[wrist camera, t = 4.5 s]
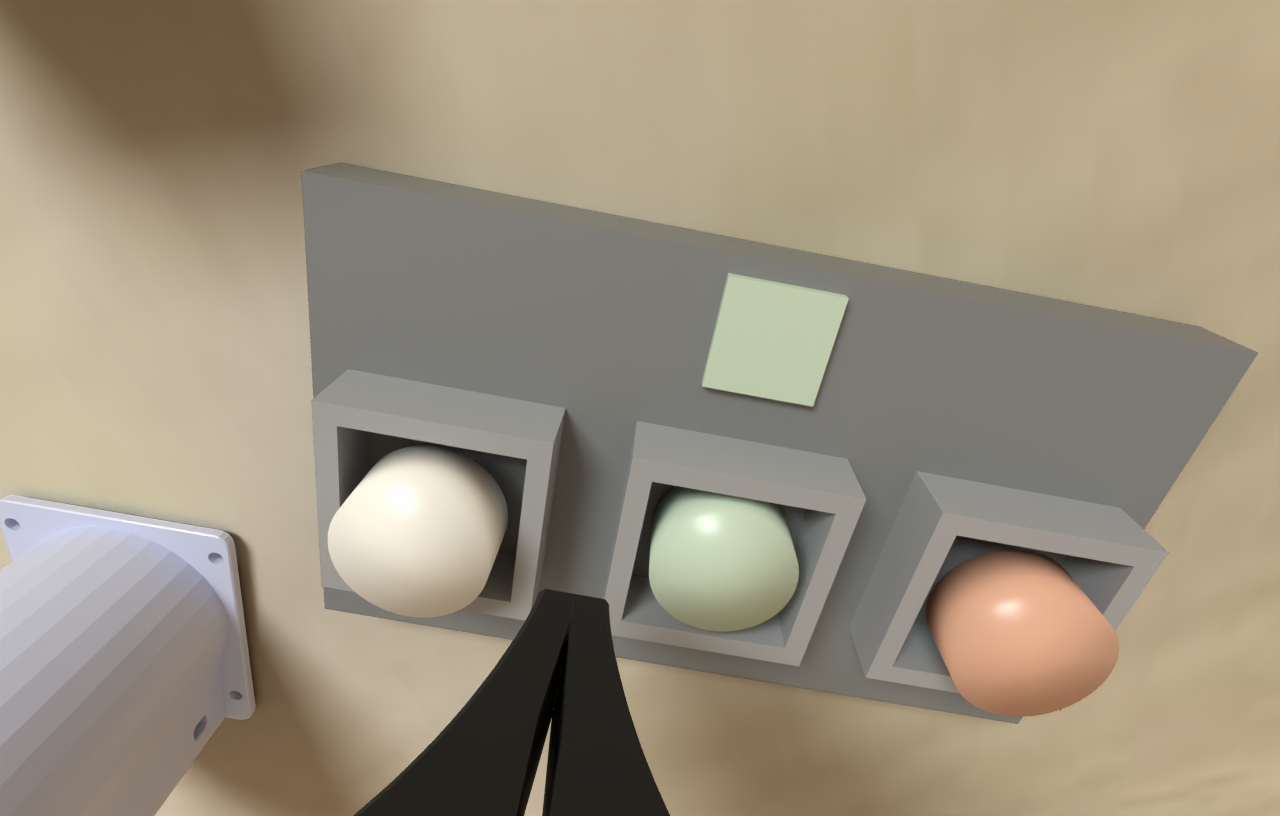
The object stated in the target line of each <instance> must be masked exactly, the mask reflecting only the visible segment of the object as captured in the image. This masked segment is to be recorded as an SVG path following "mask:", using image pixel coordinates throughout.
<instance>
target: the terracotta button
mask: <svg viewBox="0 0 1280 816" xmlns="http://www.w3.org/2000/svg"><path fill="white" fill-rule="evenodd" d="M925 617H926V623H927V626H928V629H929V631H930V633H931V635H932V637H933V640H934V642H935V644H936V646H937V648H938V650H939V652H940V654H941V656H942V659H943V661H944V663H945V665H946V667H947V669H948V671H949V673H950V675H951V677H952V680H953V682H954V684H955V686H956V688H957V689H958V691H959V693H960V694H961V695H962V696H963V697H964V698H965V699H966V700H967V701H968V702H969V703H971V704H972V705H974V706H975V707H977V708H980V709H982V710H984V711H987V712H990V713H993V714H998V715H1004V716H1018V717H1022V716H1034V715H1041V714H1046V713H1050V712H1054V711H1057V710H1060V709H1063V708H1065V707H1068V706H1070V705H1072V704H1074V703H1076V702H1078V701H1080V700H1082V699H1083V698H1085V697H1086V696H1088V695H1089V694H1091V693H1092V692H1093V691H1095V690H1096V689H1097V688H1098V687H1099V686H1100V685H1101V684H1102V683H1103V682H1104V681H1105V680H1106V679H1107V677H1108V676H1109V675H1110V673H1111V671H1112V670H1113V668H1114V666H1115V663H1116V661H1117V657H1118V651H1119V644H1118V638H1117V636H1116V633H1115V631H1114V629H1113V628H1112V626H1111V625H1110V623H1109V622H1108V621H1107V620H1106V619H1105V617H1104V616H1103V615H1102V614H1101V612H1100V611H1099V610H1098V609H1097V608H1096V606H1095V605H1094V604H1093V603H1092V601H1091V600H1090V599H1089V598H1088V597H1087V595H1086V594H1085V593H1084V592H1083V591H1082V589H1081V588H1080V587H1079V586H1078V584H1077V583H1076V582H1075V581H1074V580H1073V578H1072V577H1071V576H1070V575H1069V573H1068V572H1067V571H1066V570H1065V569H1064V568H1063V567H1062V566H1061V565H1060V564H1059V563H1058V562H1056V561H1055V560H1053V559H1051V558H1049V557H1048V556H1045V555H1042V554H1040V553H1036V552H1032V551H1026V550H1001V551H995V552H990V553H986V554H983V555H979V556H977V557H974V558H972V559H969V560H967V561H965V562H963V563H961V564H960V565H958V566H957V567H955V568H954V569H952V570H951V571H950V572H948V573H947V574H946V575H945V576H944V577H943V578H942V579H941V580H940V581H939V582H938V583H937V585H936V586H935V587H934V589H933V591H932V592H931V594H930V596H929V599H928V601H927V605H926V612H925Z"/></svg>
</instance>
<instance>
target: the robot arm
mask: <svg viewBox="0 0 1280 816" xmlns="http://www.w3.org/2000/svg"><path fill="white" fill-rule="evenodd" d="M0 526H1V529H2V532H3V535H4V538H5V541H6V544H7V548H8V551H9V554H10V557H11V560H12V562H11V563H9V564H8V565H7V566H5V567H4V568H2V569H1V570H0V816H155V814H156V813H157V812H158V810H159V809H160V807H161V806H162V805H163V803H164V802H165V800H166V799H167V798H168V796H169V795H170V793H171V792H172V791H173V789H174V788H175V786H176V785H177V784H178V782H179V781H180V780H181V778H182V777H183V775H184V774H185V773H186V771H187V770H188V768H189V767H190V766H191V764H192V763H193V761H194V760H195V759H196V757H197V756H198V754H199V753H200V752H201V750H202V749H203V747H204V746H205V745H206V743H207V742H208V741H209V739H210V738H211V736H212V735H213V734H214V732H215V731H216V729H217V728H218V727H219V725H220V724H221V722H222V721H223V720H224V718H231V719H237V720H246V719H249V718H250V717H251V715H252V714H253V712H254V711H255V708H256V706H255V698H254V690H253V682H252V675H251V667H250V659H249V651H248V643H247V635H246V628H245V620H244V612H243V604H242V596H241V589H240V581H239V573H238V565H237V557H236V550H235V543H234V540H233V538H232V537H231V536H230V535H229V534H228V533H226V532H225V531H221V530H217V529H212V528H206V527H200V526H194V525H188V524H182V523H176V522H170V521H164V520H159V519H153V518H147V517H141V516H135V515H129V514H123V513H117V512H111V511H106V510H100V509H94V508H88V507H82V506H76V505H70V504H64V503H58V502H53V501H47V500H41V499H35V498H29V497H23V496H17V495H8V496H6V497H4V498H2V499H1V500H0ZM218 554H219V555H221V556H219V555H218ZM573 602H574V603H573ZM570 618H571V619H570ZM567 634H568V635H567ZM566 639H567V640H566ZM563 655H564V656H563ZM560 671H561V672H560ZM556 692H557V693H556ZM553 708H554V709H553ZM551 718H552V722H551ZM550 722H551V732H550V742H549V753H548V763H547V773H546V784H545V794H544V804H543V815H542V816H670V814H669V812H668V810H667V808H666V806H665V804H664V801H663V799H662V797H661V795H660V792H659V790H658V788H657V785H656V783H655V781H654V778H653V776H652V773H651V771H650V768H649V766H648V763H647V761H646V758H645V756H644V753H643V750H642V748H641V745H640V742H639V739H638V736H637V733H636V730H635V727H634V724H633V721H632V718H631V715H630V712H629V708H628V705H627V701H626V698H625V694H624V690H623V686H622V682H621V679H620V675H619V671H618V666H617V662H616V657H615V652H614V646H613V641H612V634H611V626H610V615H609V604H608V602H607V601H606V600H605V599H601V598H596V597H590V596H584V595H578V594H573V593H567V592H561V591H556V590H550V589H544V590H542V591H540V592H539V593H538V596H537V598H536V601H535V603H534V605H533V607H532V609H531V611H530V613H529V615H528V617H527V619H526V620H525V622H524V624H523V625H522V627H521V629H520V630H519V632H518V634H517V635H516V637H515V638H514V640H513V641H512V643H511V644H510V646H509V647H508V649H507V650H506V652H505V653H504V655H503V656H502V658H501V659H500V660H499V662H498V663H497V665H496V666H495V668H494V669H493V670H492V672H491V673H490V674H489V676H488V677H487V678H486V679H485V681H484V682H483V683H482V684H481V686H480V687H479V688H478V690H477V691H476V692H475V693H474V695H473V696H472V697H471V698H470V700H469V701H468V702H467V703H466V705H465V706H464V707H463V708H462V709H461V711H460V712H459V713H458V714H457V715H456V716H455V717H454V719H453V720H452V721H451V722H450V723H449V724H448V725H447V726H446V728H445V729H444V730H443V731H442V732H441V733H440V734H439V735H438V736H437V737H436V738H435V740H434V741H433V742H432V743H431V744H430V745H429V746H428V747H427V748H426V749H425V750H424V751H423V752H422V753H421V754H420V755H419V756H418V757H417V758H416V759H415V760H414V761H413V762H412V763H411V764H410V765H409V766H408V767H407V768H406V769H405V770H404V771H403V772H402V773H401V774H400V775H399V776H398V777H397V778H395V779H394V780H393V781H392V782H391V783H390V784H389V785H388V786H387V787H386V788H385V789H383V790H382V791H381V792H380V793H379V794H378V795H377V796H375V797H374V798H373V799H372V800H371V801H370V802H369V803H367V804H366V805H365V806H364V807H363V808H362V809H360V810H359V811H358V812H357V813H356V814H355V815H354V816H524V813H525V810H526V806H527V803H528V799H529V796H530V792H531V789H532V785H533V782H534V778H535V775H536V771H537V767H538V764H539V760H540V757H541V753H542V750H543V746H544V743H545V739H546V736H547V732H548V729H549V725H550Z"/></svg>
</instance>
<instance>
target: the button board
mask: <svg viewBox="0 0 1280 816" xmlns="http://www.w3.org/2000/svg"><path fill="white" fill-rule="evenodd" d="M302 190H303V208H304V227H305V246H306V265H307V283H308V302H309V321H310V340H311V358H312V377H313V396H314V399H313V400H312V419H313V437H314V455H315V473H316V491H317V510H318V528H319V546H320V564H321V582H322V587H324V602H325V609H330V610H336V611H342V612H348V613H354V614H360V615H366V616H372V617H378V618H384V619H390V620H396V621H402V622H408V623H414V624H420V625H426V626H432V627H438V628H444V629H450V630H456V631H462V632H468V633H474V634H480V635H486V636H492V637H498V638H504V639H510V640H514V638H515V637H516V635H517V634H518V632H519V630H520V629H521V627H522V625H523V624H524V622H525V620H526V619H527V617H528V615H529V613H530V611H531V609H532V607H533V605H534V603H535V601H536V598H537V596H538V593H539V592H540V591H542V590H544V589H550V590H556V591H561V592H567V593H573V594H578V595H584V596H590V597H596V598H601V599H605V600H606V601H607V602H608V604H609V615H610V626H611V634H612V641H613V646H614V652H615V657H619V658H625V659H631V660H637V661H643V662H649V663H655V664H661V665H667V666H673V667H679V668H685V669H691V670H697V671H703V672H709V673H715V674H721V675H727V676H733V677H739V678H745V679H751V680H757V681H763V682H769V683H775V684H781V685H787V686H793V687H799V688H805V689H811V690H817V691H823V692H829V693H835V694H841V695H847V696H853V697H859V698H865V699H871V700H877V701H883V702H889V703H895V704H901V705H907V706H913V707H919V708H925V709H931V710H937V711H943V712H949V713H955V714H961V715H967V716H973V717H979V718H985V719H991V720H997V721H1003V722H1009V723H1015V724H1018V723H1019V721H1020V720H1021V718H1022V717H1023V716H1022V717H1018V716H1004V715H998V714H993V713H990V712H987V711H984V710H982V709H980V708H977V707H975V706H974V705H972V704H971V703H969V702H968V701H967V700H966V699H965V698H964V697H963V696H962V695H961V694H960V693H959V691H958V689H957V688H956V686H955V684H954V682H953V680H952V677H951V675H950V673H949V671H948V669H947V667H946V665H945V663H944V661H943V659H942V656H941V654H940V652H939V650H938V648H937V646H936V644H935V642H934V640H933V637H932V635H931V633H930V631H929V629H928V626H927V623H926V617H925V612H926V605H927V601H928V599H929V596H930V594H931V592H932V591H933V589H934V587H935V586H936V585H937V583H938V582H939V581H940V580H941V579H942V578H943V577H944V576H945V575H946V574H947V573H948V572H950V571H951V570H952V569H954V568H955V567H957V566H958V565H960V564H961V563H963V562H965V561H967V560H969V559H972V558H974V557H977V556H979V555H983V554H986V553H990V552H995V551H1001V550H1026V551H1032V552H1036V553H1040V554H1042V555H1045V556H1048V557H1049V558H1051V559H1053V560H1055V561H1056V562H1058V563H1059V564H1060V565H1061V566H1062V567H1063V568H1064V569H1065V570H1066V571H1067V572H1068V573H1069V575H1070V576H1071V577H1072V578H1073V580H1074V581H1075V582H1076V583H1077V584H1078V586H1079V587H1080V588H1081V589H1082V591H1083V592H1084V593H1085V594H1086V595H1087V597H1088V598H1089V599H1090V600H1091V601H1092V603H1093V604H1094V605H1095V606H1096V608H1097V609H1098V610H1099V611H1100V612H1101V614H1102V615H1103V616H1104V617H1105V619H1106V620H1107V621H1108V622H1109V623H1110V625H1111V626H1112V628H1113V629H1114V631H1116V629H1117V628H1118V626H1119V625H1120V623H1121V622H1122V620H1123V619H1124V617H1125V616H1126V615H1127V613H1128V612H1129V610H1130V609H1131V607H1132V606H1133V604H1134V603H1135V601H1136V600H1137V598H1138V597H1139V596H1140V594H1141V593H1142V591H1143V590H1144V588H1145V587H1146V585H1147V584H1148V582H1149V581H1150V579H1151V578H1152V576H1153V575H1154V574H1155V572H1156V571H1157V569H1158V568H1159V566H1160V565H1161V563H1162V562H1163V560H1164V559H1165V557H1166V556H1167V555H1168V553H1169V552H1168V551H1166V550H1165V549H1164V548H1163V547H1162V546H1161V545H1160V544H1159V543H1158V542H1157V541H1156V540H1155V539H1154V538H1152V537H1151V536H1150V535H1149V534H1148V533H1147V532H1146V531H1145V530H1144V528H1145V527H1146V525H1147V524H1148V522H1149V521H1150V519H1151V518H1152V516H1153V515H1154V513H1155V511H1156V510H1157V508H1158V507H1159V505H1160V504H1161V502H1162V501H1163V499H1164V498H1165V496H1166V494H1167V493H1168V491H1169V490H1170V488H1171V487H1172V485H1173V484H1174V482H1175V481H1176V479H1177V478H1178V476H1179V474H1180V473H1181V471H1182V470H1183V468H1184V467H1185V465H1186V464H1187V462H1188V461H1189V459H1190V457H1191V456H1192V454H1193V453H1194V451H1195V450H1196V448H1197V447H1198V445H1199V444H1200V442H1201V440H1202V439H1203V437H1204V436H1205V434H1206V433H1207V431H1208V430H1209V428H1210V427H1211V425H1212V424H1213V422H1214V420H1215V419H1216V417H1217V416H1218V414H1219V413H1220V411H1221V410H1222V408H1223V407H1224V405H1225V403H1226V402H1227V400H1228V399H1229V397H1230V396H1231V394H1232V393H1233V391H1234V390H1235V388H1236V386H1237V385H1238V383H1239V382H1240V380H1241V379H1242V377H1243V376H1244V374H1245V373H1246V371H1247V370H1248V368H1249V366H1250V365H1251V363H1252V362H1253V360H1254V359H1255V357H1256V356H1257V354H1258V352H1255V351H1253V350H1251V349H1249V348H1246V347H1244V346H1242V345H1240V344H1237V343H1235V342H1233V341H1231V340H1228V339H1226V338H1224V337H1222V336H1219V335H1217V334H1215V333H1213V332H1210V331H1208V330H1206V329H1204V328H1201V327H1198V326H1193V325H1187V324H1182V323H1177V322H1172V321H1166V320H1161V319H1156V318H1151V317H1145V316H1140V315H1135V314H1130V313H1125V312H1119V311H1114V310H1109V309H1104V308H1098V307H1093V306H1088V305H1083V304H1077V303H1072V302H1067V301H1062V300H1056V299H1051V298H1046V297H1041V296H1035V295H1030V294H1025V293H1020V292H1015V291H1009V290H1004V289H999V288H994V287H988V286H983V285H978V284H973V283H967V282H962V281H957V280H952V279H946V278H941V277H936V276H931V275H925V274H920V273H915V272H910V271H905V270H899V269H894V268H889V267H884V266H878V265H873V264H868V263H863V262H857V261H852V260H847V259H842V258H836V257H831V256H826V255H821V254H815V253H810V252H805V251H800V250H795V249H789V248H784V247H779V246H774V245H768V244H763V243H758V242H753V241H747V240H742V239H737V238H732V237H726V236H721V235H716V234H711V233H705V232H700V231H695V230H690V229H685V228H679V227H674V226H669V225H664V224H658V223H653V222H648V221H643V220H637V219H632V218H627V217H622V216H616V215H611V214H606V213H601V212H595V211H590V210H585V209H580V208H575V207H569V206H564V205H559V204H554V203H548V202H543V201H538V200H533V199H527V198H522V197H517V196H512V195H506V194H501V193H496V192H491V191H485V190H480V189H475V188H470V187H465V186H459V185H454V184H449V183H444V182H438V181H433V180H428V179H423V178H417V177H412V176H407V175H402V174H396V173H391V172H386V171H381V170H375V169H370V168H365V167H360V166H355V165H349V164H344V163H337V164H332V165H328V166H323V167H318V168H313V169H309V170H304V171H302ZM418 445H427V446H437V447H442V448H446V449H450V450H453V451H455V452H458V453H460V454H462V455H465V456H467V457H468V458H470V459H472V460H473V461H475V462H476V463H478V464H479V465H480V466H482V467H483V468H484V469H485V470H486V471H487V472H488V473H489V474H490V475H491V476H492V477H493V478H494V480H495V481H496V482H497V484H498V485H499V487H500V489H501V490H502V493H503V495H504V497H505V500H506V504H507V509H508V524H507V529H506V532H505V535H504V537H503V540H502V543H501V545H500V548H499V550H498V553H497V556H496V558H495V561H494V564H493V566H492V569H491V571H490V574H489V577H488V579H487V582H486V584H485V586H484V588H483V590H482V592H481V593H480V594H479V595H478V597H477V598H476V599H475V600H474V601H473V602H471V603H470V604H469V605H467V606H466V607H464V608H463V609H461V610H458V611H456V612H454V613H451V614H448V615H443V616H438V617H428V618H423V617H410V616H404V615H400V614H396V613H393V612H389V611H387V610H384V609H382V608H379V607H377V606H375V605H373V604H372V603H370V602H368V601H367V600H365V599H364V598H362V597H361V596H359V595H358V594H357V593H356V592H354V591H353V590H352V589H351V588H350V587H349V586H348V585H347V584H346V583H345V582H344V580H343V579H342V578H341V577H340V575H339V574H338V572H337V570H336V569H335V567H334V565H333V562H332V560H331V557H330V554H329V550H328V531H329V526H330V523H331V521H332V519H333V517H334V515H335V514H336V512H337V511H338V509H339V508H340V507H341V506H342V504H343V503H344V502H345V501H346V499H347V498H348V497H349V496H350V495H351V493H352V492H353V491H354V490H355V488H356V487H357V486H358V485H359V483H360V482H361V481H362V480H363V478H364V477H365V476H366V475H367V473H368V472H369V471H370V470H371V468H372V467H373V466H374V465H375V464H376V463H377V462H378V461H379V460H380V459H381V458H383V457H384V456H386V455H387V454H389V453H391V452H393V451H396V450H398V449H401V448H405V447H409V446H418ZM675 486H680V487H685V488H691V489H697V490H702V491H708V492H714V493H719V494H725V495H731V496H736V497H742V498H748V499H753V500H759V501H765V502H770V503H776V504H781V505H782V507H783V510H784V512H785V515H786V519H787V523H788V527H789V530H790V534H791V538H792V542H793V546H794V549H795V553H796V557H797V561H798V565H799V577H798V583H797V587H796V589H795V592H794V594H793V596H792V597H791V599H790V600H789V602H788V603H787V604H786V605H785V607H784V608H783V609H782V610H781V611H779V612H778V613H777V614H776V615H774V616H773V617H772V618H770V619H768V620H767V621H765V622H763V623H761V624H758V625H756V626H753V627H750V628H746V629H742V630H737V631H726V632H723V631H709V630H703V629H699V628H696V627H693V626H690V625H687V624H685V623H683V622H681V621H679V620H678V619H676V618H674V617H673V616H672V615H670V614H669V613H668V612H667V611H666V610H665V609H664V608H663V607H662V606H661V605H660V604H659V602H658V601H657V600H656V598H655V596H654V594H653V592H652V589H651V586H650V581H649V560H650V541H651V524H652V518H653V515H654V512H655V510H656V508H657V506H658V504H659V503H660V501H661V500H662V498H663V497H664V496H665V495H666V494H667V493H668V492H669V491H670V490H671V489H673V488H674V487H675ZM573 603H574V602H573ZM570 619H571V618H570ZM567 635H568V634H567ZM566 640H567V639H566ZM1060 710H1062V709H1060Z"/></svg>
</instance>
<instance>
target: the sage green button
mask: <svg viewBox="0 0 1280 816" xmlns="http://www.w3.org/2000/svg"><path fill="white" fill-rule="evenodd" d="M798 577H799V565H798V561H797V557H796V553H795V549H794V546H793V542H792V538H791V534H790V530H789V527H788V523H787V519H786V515H785V512H784V510H783V507H782V505H781V504H776V503H770V502H765V501H759V500H753V499H748V498H742V497H736V496H731V495H725V494H719V493H714V492H708V491H702V490H697V489H691V488H685V487H680V486H675V487H674V488H673V489H671V490H670V491H669V492H668V493H667V494H666V495H665V496H664V497H663V498H662V500H661V501H660V503H659V504H658V506H657V508H656V510H655V512H654V515H653V518H652V524H651V541H650V560H649V581H650V586H651V589H652V592H653V594H654V596H655V598H656V600H657V601H658V602H659V604H660V605H661V606H662V607H663V608H664V609H665V610H666V611H667V612H668V613H669V614H670V615H672V616H673V617H674V618H676V619H678V620H679V621H681V622H683V623H685V624H687V625H690V626H693V627H696V628H699V629H703V630H709V631H723V632H726V631H737V630H742V629H746V628H750V627H753V626H756V625H758V624H761V623H763V622H765V621H767V620H768V619H770V618H772V617H773V616H774V615H776V614H777V613H778V612H779V611H781V610H782V609H783V608H784V607H785V605H786V604H787V603H788V602H789V600H790V599H791V597H792V596H793V594H794V592H795V589H796V587H797V583H798Z"/></svg>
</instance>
